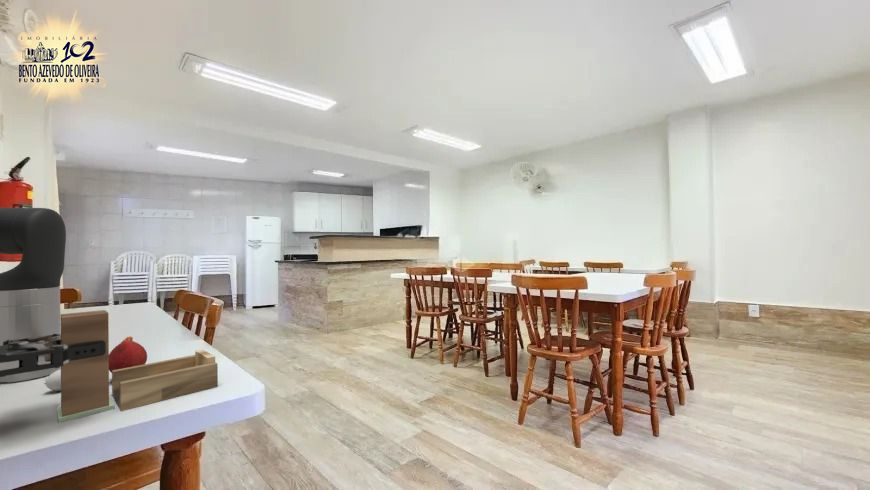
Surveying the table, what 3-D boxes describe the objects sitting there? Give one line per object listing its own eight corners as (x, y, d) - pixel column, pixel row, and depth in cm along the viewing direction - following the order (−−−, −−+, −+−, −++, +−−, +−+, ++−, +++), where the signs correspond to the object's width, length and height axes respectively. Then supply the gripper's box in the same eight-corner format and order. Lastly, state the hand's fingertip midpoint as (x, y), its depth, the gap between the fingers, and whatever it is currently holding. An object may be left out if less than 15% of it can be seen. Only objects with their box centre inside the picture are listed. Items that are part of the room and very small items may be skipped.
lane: (217, 386, 65) (217, 357, 65) (120, 410, 55) (120, 377, 55) (200, 374, 72) (200, 348, 72) (112, 394, 62) (111, 364, 62)
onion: (124, 385, 66) (123, 340, 66) (98, 384, 67) (98, 339, 68) (154, 374, 72) (154, 333, 72) (130, 373, 73) (130, 333, 73)
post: (61, 407, 56) (60, 314, 56) (105, 397, 60) (104, 309, 60) (62, 416, 53) (61, 317, 53) (109, 405, 56) (108, 312, 56)
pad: (57, 410, 56) (57, 407, 56) (109, 398, 60) (109, 395, 60) (58, 422, 52) (58, 418, 52) (114, 408, 56) (114, 405, 56)
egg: (93, 385, 67) (93, 364, 67) (47, 397, 62) (47, 374, 62) (85, 382, 69) (85, 361, 69) (39, 393, 64) (39, 370, 64)
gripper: (-87, 346, 41) (107, 323, 53) (-62, 330, 51) (97, 314, 63) (-87, 415, 41) (108, 376, 53) (-62, 385, 51) (97, 358, 63)
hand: (102, 342), depth 58 cm, fingers open, 8 cm apart
